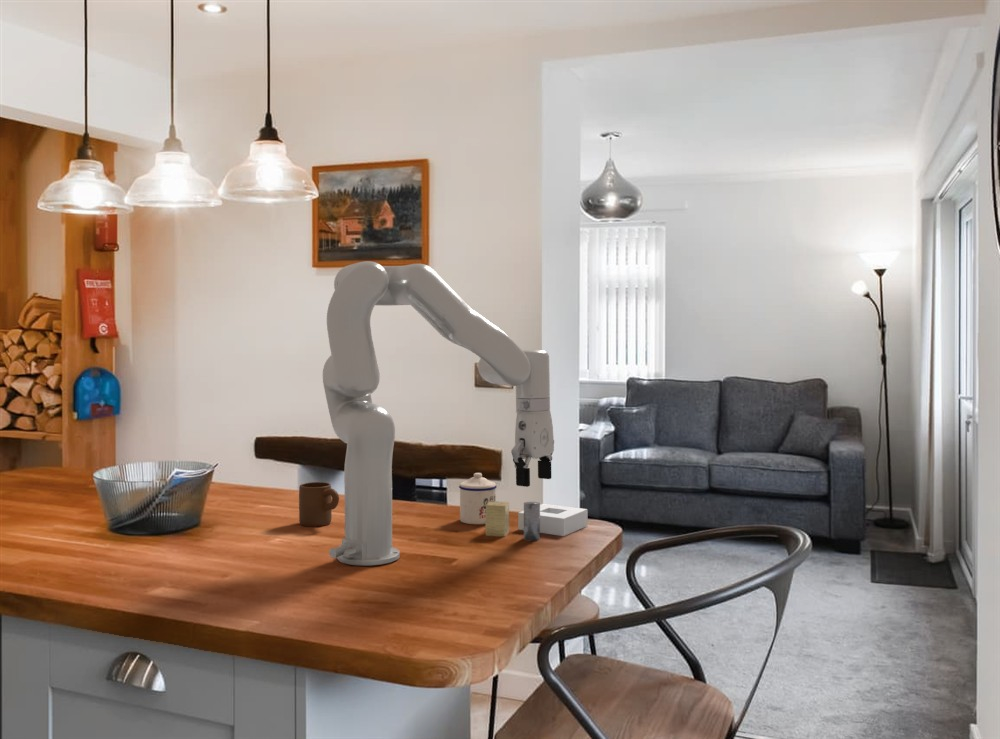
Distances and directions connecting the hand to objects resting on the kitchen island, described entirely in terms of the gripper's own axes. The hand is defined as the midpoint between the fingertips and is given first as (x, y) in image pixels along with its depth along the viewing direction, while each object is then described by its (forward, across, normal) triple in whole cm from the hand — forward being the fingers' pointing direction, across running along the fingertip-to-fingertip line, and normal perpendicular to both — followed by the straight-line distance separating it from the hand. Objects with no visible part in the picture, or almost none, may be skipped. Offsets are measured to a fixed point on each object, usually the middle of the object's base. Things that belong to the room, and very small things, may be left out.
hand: (534, 482), depth 193 cm
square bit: (+13, -1, +9) cm, 16 cm away
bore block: (+13, +11, +1) cm, 17 cm away
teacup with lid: (+13, +9, +20) cm, 26 cm away
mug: (+12, -16, +49) cm, 53 cm away
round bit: (+13, -1, 0) cm, 13 cm away
